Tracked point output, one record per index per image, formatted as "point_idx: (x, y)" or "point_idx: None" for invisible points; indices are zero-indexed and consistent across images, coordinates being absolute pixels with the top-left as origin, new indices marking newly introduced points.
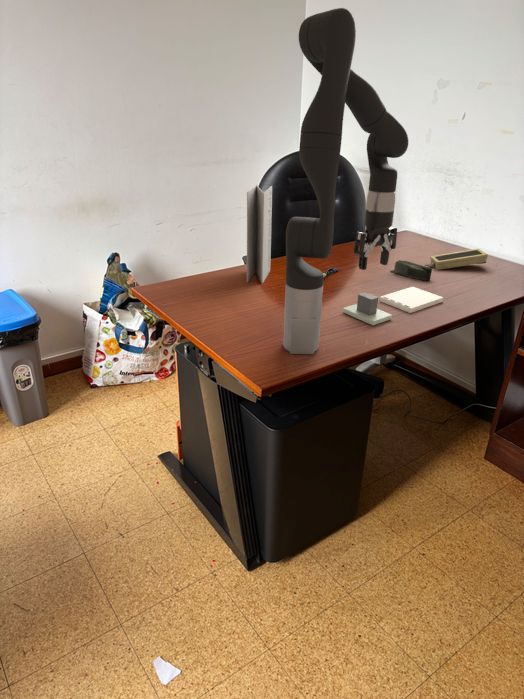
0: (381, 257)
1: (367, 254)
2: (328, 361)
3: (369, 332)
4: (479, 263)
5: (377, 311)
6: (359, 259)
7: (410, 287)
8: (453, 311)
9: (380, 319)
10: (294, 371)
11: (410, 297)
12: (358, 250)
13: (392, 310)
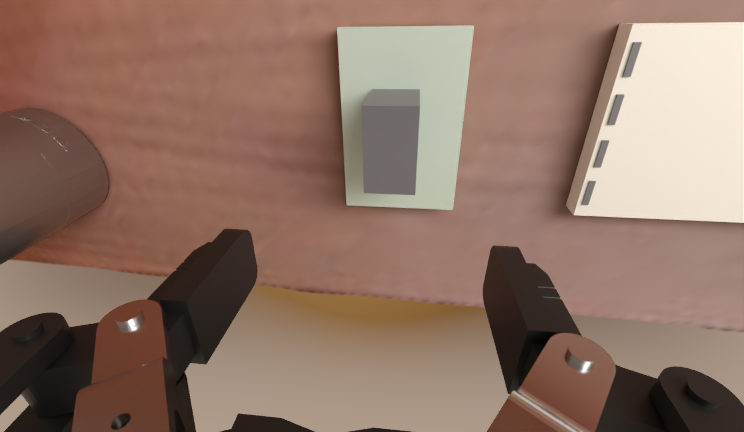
0: (504, 289)
1: (181, 390)
2: (105, 259)
3: (305, 218)
4: None
5: (435, 154)
6: (161, 292)
7: None
8: (700, 285)
9: (385, 206)
10: None
11: (726, 135)
12: (24, 395)
13: (542, 145)
